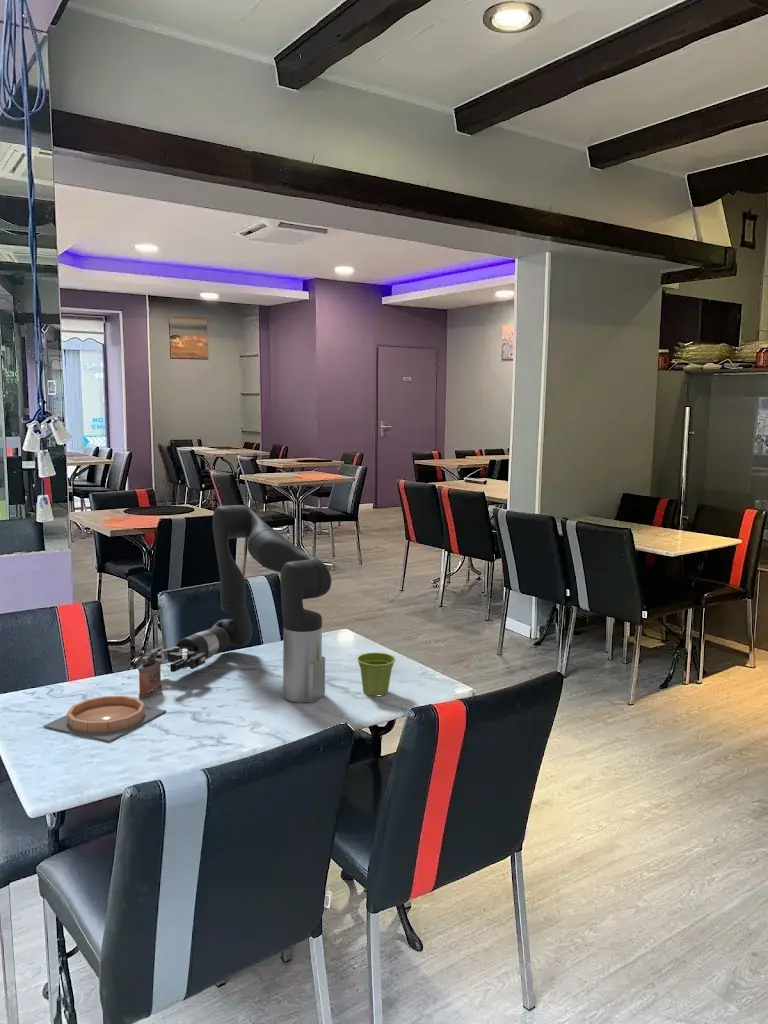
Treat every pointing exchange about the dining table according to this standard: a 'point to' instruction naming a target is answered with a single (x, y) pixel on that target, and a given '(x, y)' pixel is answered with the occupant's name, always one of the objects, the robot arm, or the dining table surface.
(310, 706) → the dining table surface
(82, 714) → the dish
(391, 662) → the plant pot
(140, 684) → the lighter
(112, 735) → the mat
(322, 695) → the robot arm
